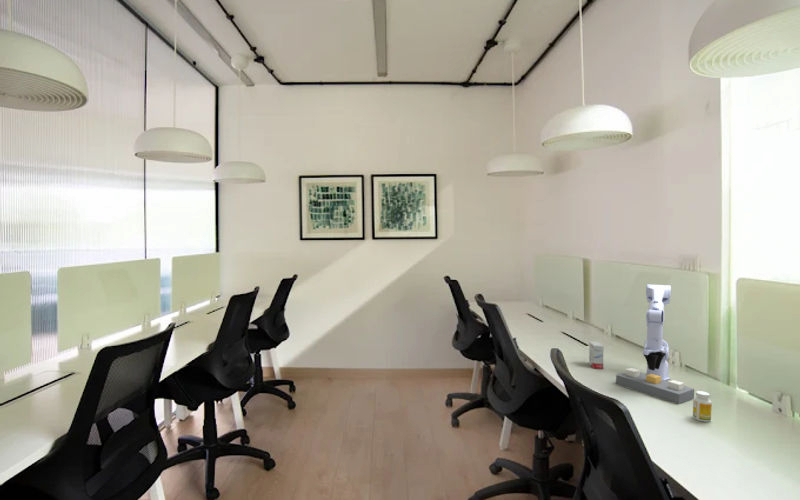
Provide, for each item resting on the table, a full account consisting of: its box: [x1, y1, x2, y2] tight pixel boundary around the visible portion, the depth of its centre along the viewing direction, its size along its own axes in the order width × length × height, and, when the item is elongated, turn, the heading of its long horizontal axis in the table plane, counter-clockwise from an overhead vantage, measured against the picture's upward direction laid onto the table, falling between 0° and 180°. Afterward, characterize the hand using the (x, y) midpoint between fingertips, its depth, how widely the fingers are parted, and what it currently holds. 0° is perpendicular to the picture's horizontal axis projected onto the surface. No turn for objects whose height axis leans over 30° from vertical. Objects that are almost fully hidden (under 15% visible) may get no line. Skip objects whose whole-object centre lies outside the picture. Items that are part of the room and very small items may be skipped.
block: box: [625, 367, 641, 378], centre depth 184 cm, size 4×4×4 cm
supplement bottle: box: [692, 390, 713, 423], centre depth 149 cm, size 5×5×10 cm
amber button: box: [645, 374, 661, 384], centre depth 176 cm, size 4×4×4 cm
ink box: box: [588, 341, 604, 370], centre depth 209 cm, size 9×5×12 cm, turn 168°
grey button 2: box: [668, 379, 685, 391], centre depth 169 cm, size 4×4×4 cm
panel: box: [615, 371, 695, 405], centre depth 176 cm, size 12×26×4 cm, turn 30°
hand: (653, 369), depth 176 cm, fingers open, 3 cm apart
